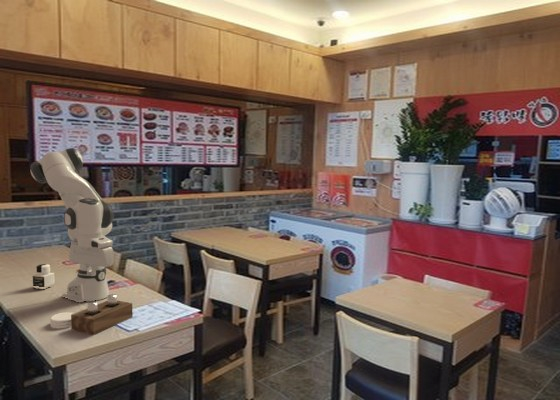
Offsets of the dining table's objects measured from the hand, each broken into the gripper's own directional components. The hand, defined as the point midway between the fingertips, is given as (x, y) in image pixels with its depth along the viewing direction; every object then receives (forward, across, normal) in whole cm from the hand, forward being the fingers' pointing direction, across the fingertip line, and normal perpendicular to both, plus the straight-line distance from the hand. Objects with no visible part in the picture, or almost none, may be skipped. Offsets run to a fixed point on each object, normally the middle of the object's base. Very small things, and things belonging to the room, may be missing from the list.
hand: (91, 275), depth 162 cm
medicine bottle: (+21, -65, +27) cm, 73 cm away
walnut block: (+21, 0, +5) cm, 22 cm away
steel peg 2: (+16, 0, +10) cm, 19 cm away
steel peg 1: (+16, 0, 0) cm, 16 cm away
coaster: (+22, -14, -2) cm, 26 cm away
